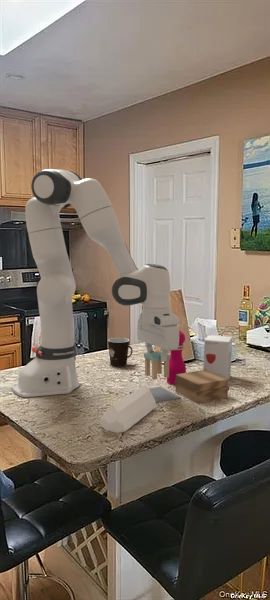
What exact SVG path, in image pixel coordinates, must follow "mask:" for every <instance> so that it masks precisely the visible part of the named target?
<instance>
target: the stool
mask: <svg viewBox="0 0 270 600" xmlns="http://www.w3.org/2000/svg"><path fill="white" fill-rule="evenodd" d="M161 353H162V351H161V350H160V351H159V350H158V351H154V352H151V353H147V352H145V353H143V358H144V376H146V377H150V376H151V379H152V380H153V381H156V380H158V375H162V374H163V377H164V378H166V379H167V377H169V359H170V353H168V354H167V360H166V361H165V362H162V361H160V360H159V359H160V358H159V355H161ZM162 363H163V364H162ZM162 366H163V367H162ZM162 369H163V370H162Z"/></svg>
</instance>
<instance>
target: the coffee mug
mask: <svg viewBox="0 0 270 600" xmlns="http://www.w3.org/2000/svg"><path fill="white" fill-rule="evenodd" d="M107 345H108V346H107V348H108V355H109V363H110V366H112V367H116V368H117V367H118V368H121V367H126V366H127V365H128V364H127V362H128V359H129V358H130V357H131V356H132V355H133V352H134V351H133V348H132V346H131V345H130V339H129V338H127V337H111V338H108V339H107ZM129 349H130V354H129Z"/></svg>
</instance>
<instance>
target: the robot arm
mask: <svg viewBox="0 0 270 600" xmlns="http://www.w3.org/2000/svg"><path fill="white" fill-rule="evenodd" d="M30 186H31V188H30V189H31V194H32V195H33V197H31V198H30V199H29V200H27V202H25V203H26V204H25V211H24V212H25V222H26V223H25V224H26V229H27V234H28V235H27V236H28V239H29V244H30V249H31V253H32V257H33V259H34V262H35V265H36V267H37V270H38V273H39V276H40V280H39V282H38V283H37V286H36V295H37V303H38V312H39V319H40V330H41V331H40V336H41V337H40V341H41V343H40V345H39V346H38V347H37V346H36V345H33V346H32V347H31V352H33V353H35V357H33V359H32V360H31V361H29V362H28V363H27V364H26V365H24V366H23V367H22V368H21V369H20V371H19V374H18V381H16V382H14V383H12V385H11V390H12V392H13V393H14V394H15V395H17V396H19V397H23V398H31V397H33V398H34V397H40V396H41V397H43V396H53V395H55V396H56V395H64V394H70V393H72V392H73V390H75V389H77V388H78V387H80V385H81V384H80V382H79V381H80V380H79V378H78V372H77V368H76V360H77V358H76V357H77V347H76V344H75V320H74V311H73V310H74V309H73V296H74V294H75V293H76V289H77V288H76V287H77V285H76V280H75V277H74V276H75V275H74V273H73V269H72V266H71V262H70V259H69V255H68V252H67V251H68V250H67V246H66V243H65V237H64V232H63V229H62V223H61V218H60V212H61V210H62V209H63V210H65V209H67V208H68V207H70V206H72V207H73V208H74V210H75V212H76V213H77V217H78V218H79V220H80V224H81V226H82V227H83V229H84V231H85V232H86V234H87V236H88V237H89V239H91V240H92V241H93V242H95V244H98V245H99V246H101V247H102V248H104V249H105V251H106V252H107V253H108V255H109V256H110V259H111V260H112V263H113V266H114V268H115V269H116V271H117V273H118V278H117V279H116V280H115V281H114V282H113V283H112V287H111V295H112V297H113V299H114V301H115V302H116V303H117V304H119V305H121V306H126V307H127V306H128V307H129V306H134V305H138V304H141V306H142V311H141V313H140V315H139V319H137V326H136V327H137V328H136V337H137V339H138V340H139V341H142V342H144V345H145V348H146V351H147V352H146V353H151V352H155V351H154V349H153V346H155V347H158V348H159V349H160V351H161V352H162V353H161V355H159V358H160V359H159V360H160V361H162V363H164V362H165V361H166V360H167V354H169V352H171V350H176V349H177V348H178V346H179V331H180V327H179V326H178V325H180V322H181V321H180V317H179V316H178V315H176V314H175V313H174V312H173V310H171V303H170V295H171V277H170V272H169V270H168V269H167V268H166V267H165V266H163V265H160V264H154V263H146V264H144V265H143V266H142V267H140V268H137V265H136V264H135V262H134V259H133V257H132V255H131V253H130V251H129V249H128V247H127V244H126V242H125V240H124V237H123V234H122V230H121V228H120V227H121V226H120V223H119V220H118V217H117V214H116V212H115V208H114V206H113V204H112V201H111V200H110V197H109V196H108V194H107V192H106V191H105V189H104V187H103V186H102V184H101V183H100V181H98V180H97V179H95V178H90V177H87V178H83V179H82V177H81V176H80V175H79V174H77V172H76V173H75V172H74V171H71V170H67V169H66V170H65V169H62V168H56V169H53V168H48V169H47V168H46V169H42V170H40V171H38V172H37V173H36V174H35V175H34V176H33V178H32V180H31V183H30ZM178 327H179V328H178Z"/></svg>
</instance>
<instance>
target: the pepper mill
mask: <svg viewBox="0 0 270 600" xmlns="http://www.w3.org/2000/svg"><path fill="white" fill-rule="evenodd" d="M178 328H179V329H180V327H179V326H178ZM185 341H186V336H185V334H184V332H183V331H181V330H179V346H178V348H177V349H176V350H171V351H170V353H169V355H170V359H169V377H167V378H166V382H167V383H168V384H170V385H174V386H176V385H175V381H176V374H182V373H187V367H186V363H185V362H184V358H183V353H182V352H183V349H184V347H185V346H184V342H185Z"/></svg>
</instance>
